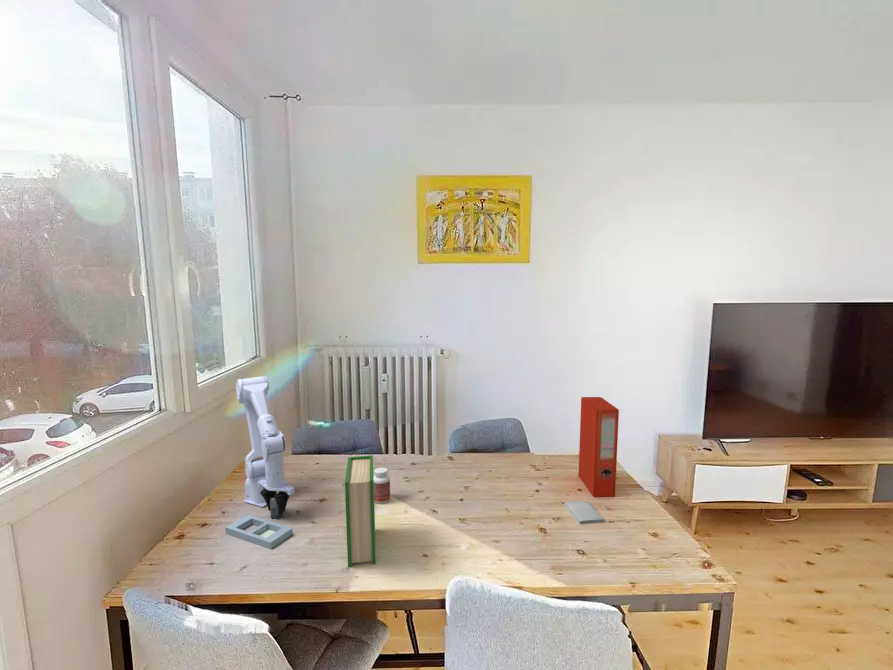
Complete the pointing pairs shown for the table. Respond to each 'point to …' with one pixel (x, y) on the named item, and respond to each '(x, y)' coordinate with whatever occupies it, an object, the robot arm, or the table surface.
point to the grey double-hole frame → (259, 531)
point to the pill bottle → (381, 486)
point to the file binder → (598, 446)
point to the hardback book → (360, 510)
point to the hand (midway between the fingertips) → (277, 510)
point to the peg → (274, 508)
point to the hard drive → (583, 512)
